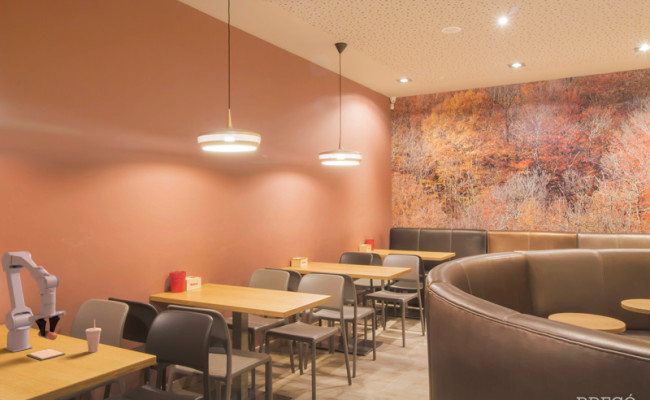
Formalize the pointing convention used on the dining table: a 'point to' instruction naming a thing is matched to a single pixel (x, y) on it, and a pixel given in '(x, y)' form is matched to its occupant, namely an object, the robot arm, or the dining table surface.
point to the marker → (48, 335)
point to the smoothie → (93, 338)
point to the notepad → (45, 354)
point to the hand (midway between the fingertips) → (47, 335)
